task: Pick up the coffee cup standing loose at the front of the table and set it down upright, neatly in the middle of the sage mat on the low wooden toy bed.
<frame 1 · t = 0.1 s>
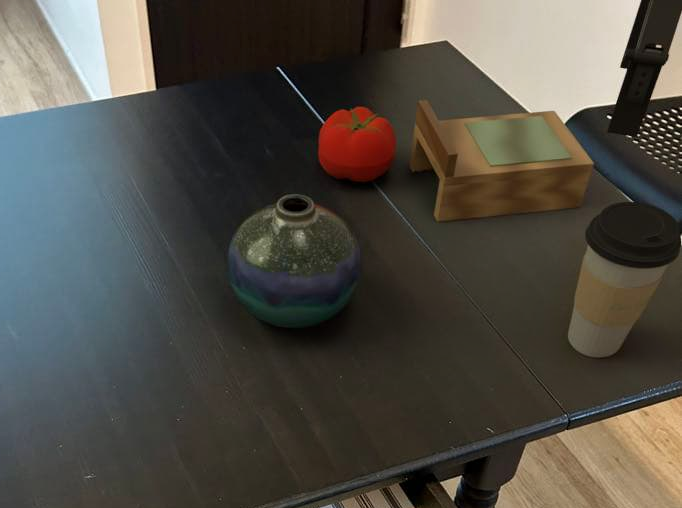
hand: (628, 99, 80), 24 cm above the table, tool pointing down, fingers open, 13 cm apart
tomato: (354, 172, 117), on the table
vase: (293, 307, 99), on the table
coffee cup: (592, 341, 95), on the table
wooden toy bed: (492, 186, 114), on the table
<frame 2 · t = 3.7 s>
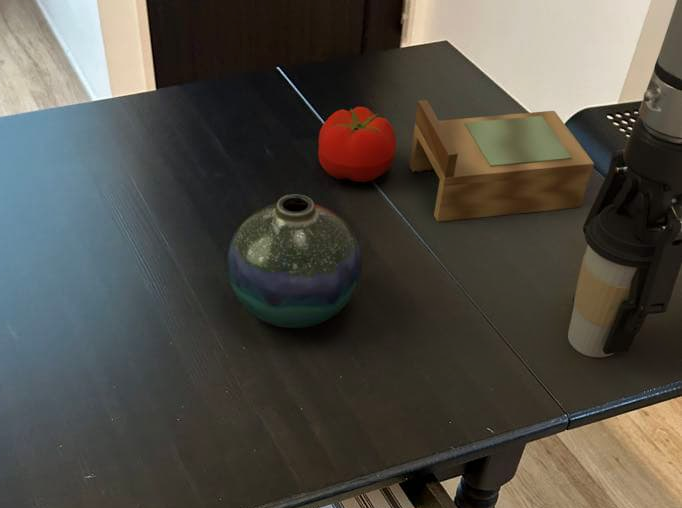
hand: (599, 325, 93), 2 cm above the table, tool pointing down, fingers closed on coffee cup, 8 cm apart
coffee cup: (592, 341, 95), on the table, touching gripper
everything else where it was.
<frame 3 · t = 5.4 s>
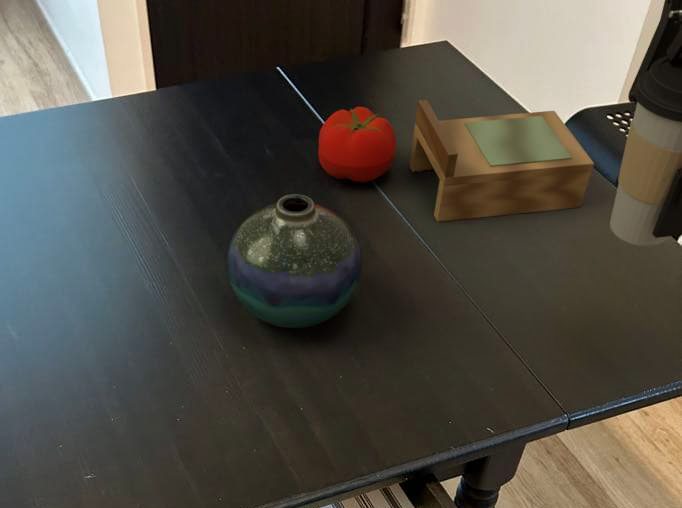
hand: (647, 208, 82), 17 cm above the table, tool pointing down, fingers closed on coffee cup, 8 cm apart
coffee cup: (638, 230, 84), point 14 cm above the table, touching gripper
everything else where it was.
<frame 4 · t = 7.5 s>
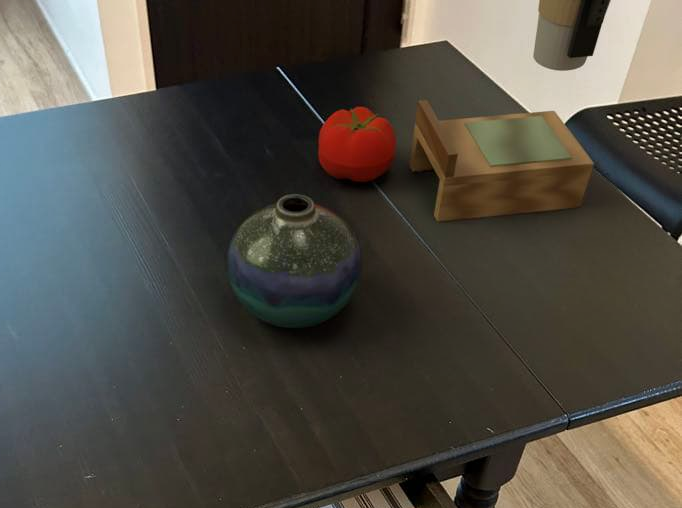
hand: (564, 37, 93), 21 cm above the table, tool pointing down, fingers closed on coffee cup, 8 cm apart
coffee cup: (558, 60, 95), point 19 cm above the table, touching gripper
everything else where it was.
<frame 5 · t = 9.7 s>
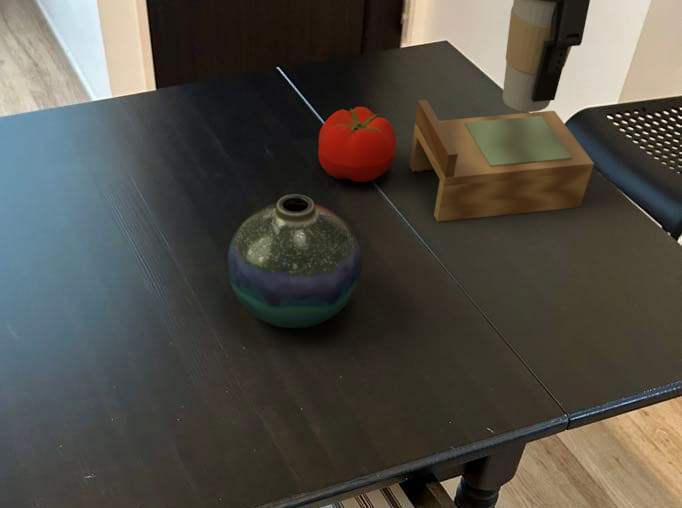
hand: (530, 82, 103), 14 cm above the table, tool pointing down, fingers closed on coffee cup, 8 cm apart
coffee cup: (524, 102, 105), point 11 cm above the table, touching gripper
everything else where it was.
when the fingers open (9 cm above the table, at t = 11.4 s): coffee cup stays where it is, resting on wooden toy bed.
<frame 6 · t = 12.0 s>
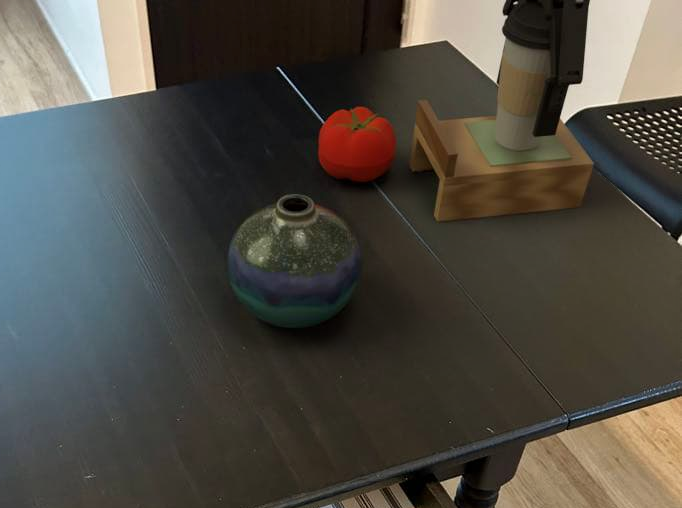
hand: (524, 108, 106), 10 cm above the table, tool pointing down, fingers open, 13 cm apart
coffee cup: (516, 140, 109), point 6 cm above the table, touching wooden toy bed
everything else where it was.
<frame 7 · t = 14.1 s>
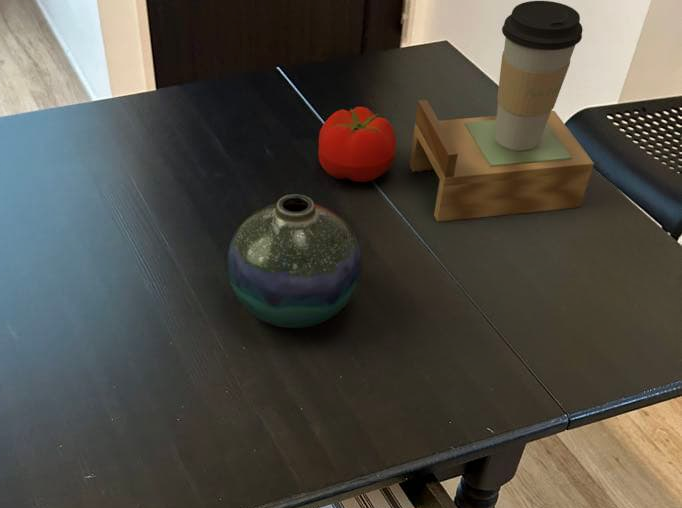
nothing on the table moved.
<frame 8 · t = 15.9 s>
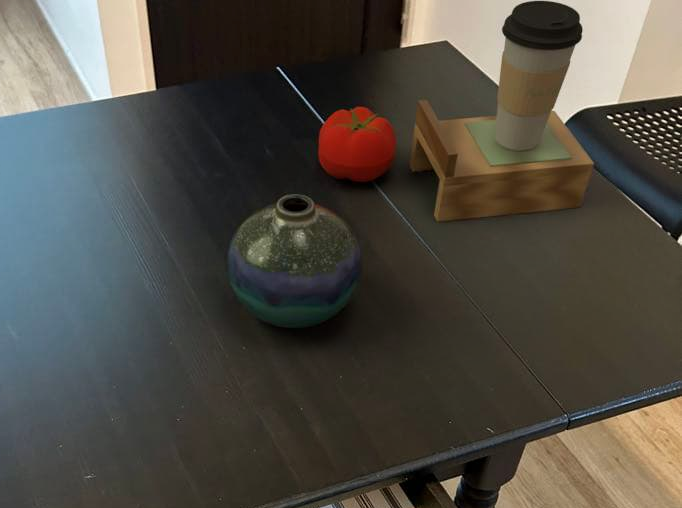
nothing on the table moved.
at the end: coffee cup inside the target area on the wooden toy bed (0.5 cm from its centre), point 6.2 cm above the wooden toy bed's base; coffee cup tilted 0°; the gripper is holding nothing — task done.
